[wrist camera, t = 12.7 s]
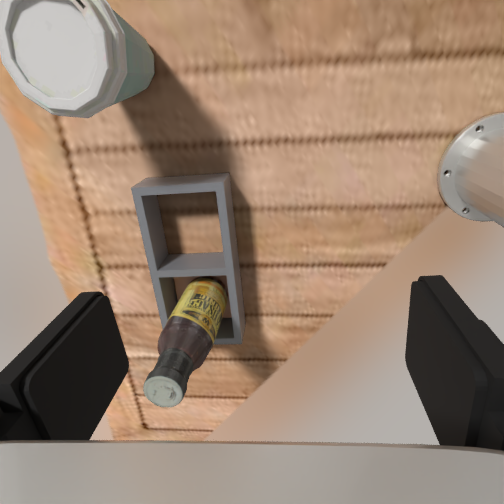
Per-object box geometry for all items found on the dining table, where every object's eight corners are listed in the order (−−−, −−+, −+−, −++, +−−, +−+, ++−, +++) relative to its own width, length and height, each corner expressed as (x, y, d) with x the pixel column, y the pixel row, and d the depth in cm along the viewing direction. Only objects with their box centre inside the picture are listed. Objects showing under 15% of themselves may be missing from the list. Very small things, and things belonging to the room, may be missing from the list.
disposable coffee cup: (131, 129, 44) (63, 148, 31) (62, 55, 41) (-48, 39, 28) (191, 65, 41) (144, 55, 27) (120, -21, 38) (27, -81, 24)
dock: (229, 172, 45) (223, 182, 41) (245, 322, 55) (242, 344, 50) (145, 178, 47) (131, 187, 42) (175, 324, 56) (166, 345, 51)
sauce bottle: (238, 293, 52) (213, 400, 34) (208, 316, 54) (171, 428, 36) (206, 262, 51) (162, 359, 33) (177, 287, 53) (121, 391, 35)
